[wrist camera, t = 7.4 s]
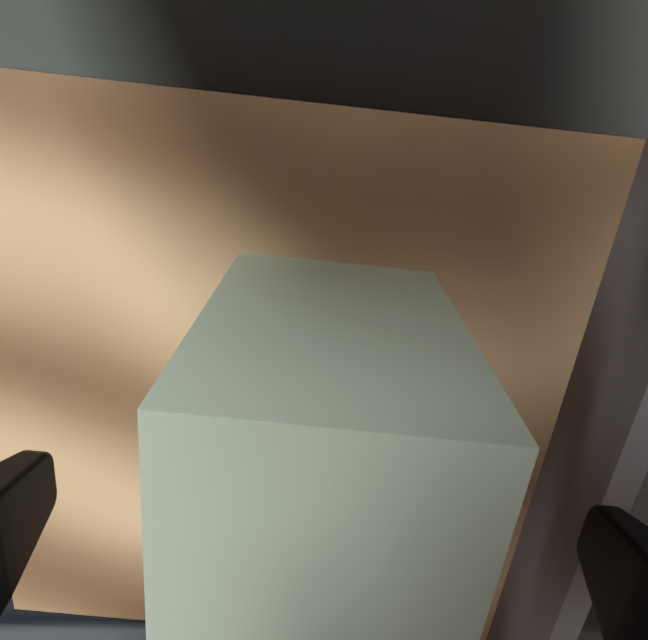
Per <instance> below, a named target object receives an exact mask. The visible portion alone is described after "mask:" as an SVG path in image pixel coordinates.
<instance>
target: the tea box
mask: <svg viewBox="0 0 648 640" xmlns="http://www.w3.org/2000/svg"><path fill="white" fill-rule="evenodd" d="M137 418H138V444H139V469H140V494H141V519H142V545H143V570H144V595H145V621H146V640H480V637H481V634H482V631H483V628H484V624H485V621H486V618H487V615H488V612H489V608H490V605H491V602H492V599H493V596H494V593H495V589H496V586H497V583H498V580H499V577H500V573H501V570H502V567H503V564H504V561H505V557H506V554H507V551H508V548H509V545H510V542H511V538H512V535H513V532H514V529H515V526H516V522H517V519H518V516H519V513H520V510H521V506H522V503H523V500H524V497H525V494H526V491H527V487H528V484H529V481H530V478H531V475H532V471H533V468H534V465H535V462H536V459H537V455H538V452H539V449H540V448H539V446H538V445H537V443H536V441H535V440H534V438H533V436H532V435H531V433H530V431H529V430H528V428H527V427H526V425H525V423H524V422H523V420H522V418H521V417H520V415H519V413H518V412H517V410H516V408H515V407H514V405H513V403H512V402H511V400H510V398H509V397H508V395H507V393H506V392H505V390H504V388H503V387H502V385H501V383H500V382H499V380H498V378H497V377H496V375H495V374H494V372H493V370H492V369H491V367H490V365H489V364H488V362H487V360H486V359H485V357H484V355H483V354H482V352H481V350H480V349H479V347H478V345H477V344H476V342H475V340H474V339H473V337H472V335H471V334H470V332H469V330H468V329H467V327H466V325H465V324H464V322H463V321H462V319H461V317H460V316H459V314H458V312H457V311H456V309H455V307H454V306H453V304H452V302H451V301H450V299H449V297H448V296H447V294H446V292H445V291H444V289H443V287H442V286H441V284H440V282H439V281H438V279H437V277H436V276H435V274H434V272H428V271H419V270H409V269H400V268H390V267H381V266H371V265H361V264H352V263H342V262H333V261H323V260H314V259H304V258H294V257H285V256H275V255H266V254H256V253H247V252H239V254H238V255H237V257H236V258H235V260H234V262H233V263H232V265H231V266H230V268H229V269H228V271H227V272H226V274H225V275H224V277H223V278H222V280H221V281H220V283H219V285H218V286H217V288H216V289H215V291H214V292H213V294H212V295H211V297H210V298H209V300H208V301H207V303H206V304H205V306H204V308H203V309H202V311H201V312H200V314H199V315H198V317H197V318H196V320H195V321H194V323H193V324H192V326H191V327H190V329H189V331H188V332H187V334H186V335H185V337H184V338H183V340H182V341H181V343H180V344H179V346H178V347H177V349H176V350H175V352H174V354H173V355H172V357H171V358H170V360H169V361H168V363H167V364H166V366H165V367H164V369H163V370H162V372H161V373H160V375H159V377H158V378H157V380H156V381H155V383H154V384H153V386H152V387H151V389H150V390H149V392H148V393H147V395H146V396H145V398H144V400H143V401H142V403H141V404H140V406H139V407H138V409H137Z"/></svg>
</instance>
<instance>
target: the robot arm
mask: <svg viewBox="0 0 648 640" xmlns="http://www.w3.org/2000/svg"><path fill="white" fill-rule="evenodd" d="M56 498H57V486H56V478H55V469H54V461H53V457H52V455H51V454H50V453H48V452H45V451H34V450H23V451H21V452H19V453H17V454H15V455H13V456H10V457H8V458H6V459H4V460H2V461H0V616H1V614H2V613H3V611H4V609H5V607H6V606H7V604H8V602H9V600H10V599H11V597H12V595H13V593H14V591H15V589H16V587H17V585H18V583H19V581H20V579H21V577H22V575H23V572H24V570H25V568H26V566H27V564H28V562H29V560H30V557H31V555H32V553H33V551H34V549H35V547H36V545H37V542H38V540H39V538H40V536H41V534H42V532H43V530H44V527H45V525H46V523H47V521H48V519H49V517H50V515H51V512H52V510H53V508H54V506H55V503H56ZM576 547H577V556H578V560H579V563H580V566H581V569H582V573H583V576H584V579H585V582H586V586H587V589H588V592H589V595H590V598H591V602H592V605H593V608H594V611H595V615H596V618H597V621H598V624H599V628H600V631H601V634H602V637H603V640H648V526H646V525H645V524H643V523H642V522H641V521H639V520H638V519H636V518H635V517H633V516H632V515H630V514H629V513H627V512H626V511H625V510H623V509H622V508H620V507H617V506H610V505H599V504H596V505H593V506H592V507H591V508H590V509H589V511H588V513H587V516H586V518H585V521H584V524H583V526H582V529H581V532H580V534H579V537H578V540H577V546H576Z"/></svg>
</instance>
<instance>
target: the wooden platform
mask: <svg viewBox="0 0 648 640" xmlns="http://www.w3.org/2000/svg"><path fill="white" fill-rule="evenodd" d="M239 252H247V253H256V254H266V255H275V256H285V257H294V258H304V259H314V260H323V261H333V262H342V263H352V264H361V265H371V266H381V267H390V268H400V269H409V270H419V271H428V272H434V274H435V276H436V277H437V279H438V281H439V282H440V284H441V286H442V287H443V289H444V291H445V292H446V294H447V296H448V297H449V299H450V301H451V302H452V304H453V306H454V307H455V309H456V311H457V312H458V314H459V316H460V317H461V319H462V321H463V322H464V324H465V325H466V327H467V329H468V330H469V332H470V334H471V335H472V337H473V339H474V340H475V342H476V344H477V345H478V347H479V349H480V350H481V352H482V354H483V355H484V357H485V359H486V360H487V362H488V364H489V365H490V367H491V369H492V370H493V372H494V374H495V375H496V377H497V378H498V380H499V382H500V383H501V385H502V387H503V388H504V390H505V392H506V393H507V395H508V397H509V398H510V400H511V402H512V403H513V405H514V407H515V408H516V410H517V412H518V413H519V415H520V417H521V418H522V420H523V422H524V423H525V425H526V427H527V428H528V430H529V431H530V433H531V435H532V436H533V438H534V440H535V441H536V443H537V445H538V446H539V448H540V449H539V452H538V455H537V459H536V462H535V465H534V468H533V471H532V475H531V478H530V481H529V484H528V487H527V491H526V494H525V497H524V500H523V503H522V506H521V510H520V513H519V516H518V519H517V522H516V526H515V529H514V532H513V535H512V538H511V542H510V545H509V548H508V551H507V554H506V557H505V561H504V564H503V567H502V570H501V573H500V577H499V580H498V583H497V586H496V589H495V593H494V596H493V599H492V602H491V605H490V608H489V612H488V615H487V618H486V621H485V624H484V628H483V631H482V634H481V637H480V640H577V639H578V637H579V635H580V632H581V630H582V627H583V625H584V623H585V620H586V618H587V615H588V613H589V611H590V608H591V606H592V602H591V598H590V595H589V592H588V589H587V586H586V582H585V579H584V576H583V573H582V569H581V566H580V563H579V560H578V556H577V547H576V546H577V540H578V537H579V534H580V532H581V529H582V526H583V524H584V521H585V518H586V516H587V513H588V511H589V509H590V508H591V507H592V506H593V505H596V504H599V505H610V506H617V507H620V508H622V509H623V510H625V511H626V512H627V513H629V514H630V512H631V510H632V507H633V505H634V502H635V500H636V498H637V495H638V493H639V490H640V488H641V486H642V483H643V481H644V478H645V476H646V474H647V471H648V139H639V138H630V137H621V136H612V135H603V134H594V133H585V132H576V131H567V130H558V129H548V128H539V127H530V126H521V125H512V124H503V123H494V122H485V121H476V120H467V119H458V118H449V117H440V116H431V115H422V114H413V113H404V112H395V111H386V110H377V109H368V108H359V107H350V106H341V105H332V104H323V103H314V102H305V101H296V100H286V99H277V98H268V97H259V96H250V95H241V94H232V93H223V92H214V91H205V90H196V89H187V88H178V87H169V86H160V85H151V84H142V83H133V82H124V81H115V80H106V79H97V78H88V77H79V76H70V75H61V74H52V73H43V72H33V71H24V70H15V69H6V68H0V461H2V460H4V459H6V458H8V457H10V456H13V455H15V454H17V453H19V452H21V451H23V450H34V451H45V452H48V453H50V454H51V455H52V457H53V461H54V469H55V478H56V486H57V498H56V503H55V506H54V508H53V510H52V512H51V515H50V517H49V519H48V521H47V523H46V525H45V527H44V530H43V532H42V534H41V536H40V538H39V540H38V542H37V545H36V547H35V549H34V551H33V553H32V555H31V557H30V560H29V562H28V564H27V566H26V568H25V570H24V572H23V575H22V577H21V579H20V581H19V583H18V585H17V587H16V589H15V591H14V593H13V595H12V597H13V603H14V609H22V610H34V611H45V612H57V613H68V614H79V615H91V616H102V617H114V618H125V619H136V620H145V595H144V570H143V545H142V519H141V494H140V469H139V444H138V418H137V409H138V407H139V406H140V404H141V403H142V401H143V400H144V398H145V396H146V395H147V393H148V392H149V390H150V389H151V387H152V386H153V384H154V383H155V381H156V380H157V378H158V377H159V375H160V373H161V372H162V370H163V369H164V367H165V366H166V364H167V363H168V361H169V360H170V358H171V357H172V355H173V354H174V352H175V350H176V349H177V347H178V346H179V344H180V343H181V341H182V340H183V338H184V337H185V335H186V334H187V332H188V331H189V329H190V327H191V326H192V324H193V323H194V321H195V320H196V318H197V317H198V315H199V314H200V312H201V311H202V309H203V308H204V306H205V304H206V303H207V301H208V300H209V298H210V297H211V295H212V294H213V292H214V291H215V289H216V288H217V286H218V285H219V283H220V281H221V280H222V278H223V277H224V275H225V274H226V272H227V271H228V269H229V268H230V266H231V265H232V263H233V262H234V260H235V258H236V257H237V255H238V254H239Z"/></svg>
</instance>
